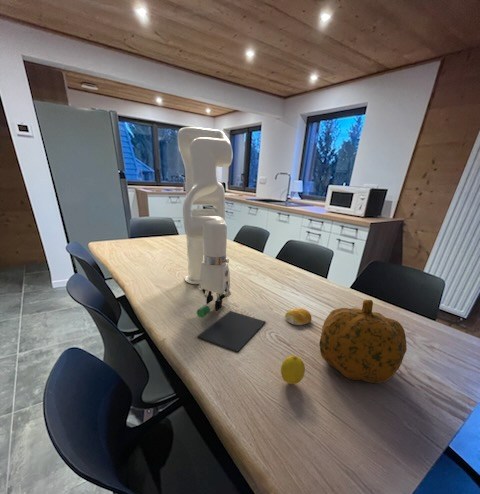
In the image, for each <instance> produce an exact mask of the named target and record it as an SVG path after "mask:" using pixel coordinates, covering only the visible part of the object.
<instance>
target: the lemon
mask: <svg viewBox="0 0 480 494" xmlns="http://www.w3.org/2000/svg"><path fill="white" fill-rule="evenodd" d="M281 363H282V364H281V366H280V375H281V378H282V379H283V381H284V382H286V383H287V384H289V385H296V384H298V383H299V384H300V382H301V381H302V380H303V379H304V376H305V372H306V368H305V363H304V361H303V360H302V358H301V357H299V356H297V355H289V356H286V357H285V358H284V360H283V361H282V362H281Z"/></svg>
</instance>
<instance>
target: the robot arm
mask: <svg viewBox="0 0 480 494" xmlns="http://www.w3.org/2000/svg"><path fill="white" fill-rule="evenodd" d="M177 147H178V151H179V154H180V157H181V160H182V163H183V166H184V179H185V198H184V200H183V205H182V217H183V230H184V234H185V236H186V255H187V256H186V257H187V274H186V275H185V276H184V281H185V282H186V283H188V284H192V285H198V286H197V288H198V289H199V290H200V291H202V292H201V293H203V295H204V298H205V299H206V301H205V303H206V304H208V303H209V302H211V301H213V300H214V295H213V293H215V294H216V298H217V300H216V301H215V309H214V311H215V312H218V311H219V310H221V309H222V307H223V304H222V299H223V298H225V297H227V298H229V297H230V296H232V292H231V290H230V289H231V276H230V275H231V274H230V268H229V263H230V259H229V258H227V244H228V243H227V239H228V225H227V222H226V193H225V187H224V184H222V183H221V182H220V181H219V178H218V177H219V176H218V167H219V168H229V167H230V166H231V165H232V163H233V157H234V153H233V147H232V143H231V141H230V139H229V138H228V136H227V134H225V132H224V131H223V130H220V129H213V128H204V127H198V126H197V127H196V126H185V127H181V128H180V129H179V130H178V131H177ZM193 206H208V207H209V206H211V207H212V208H192V207H193ZM206 304H205V305H206Z"/></svg>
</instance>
